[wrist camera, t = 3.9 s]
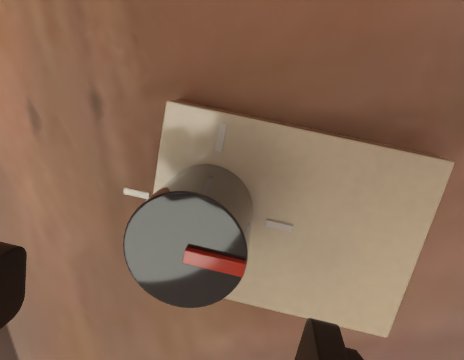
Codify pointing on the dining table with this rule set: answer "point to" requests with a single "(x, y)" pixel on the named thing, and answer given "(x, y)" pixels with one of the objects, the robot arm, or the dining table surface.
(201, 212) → the hob knob
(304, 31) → the dining table surface
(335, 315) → the hob panel
